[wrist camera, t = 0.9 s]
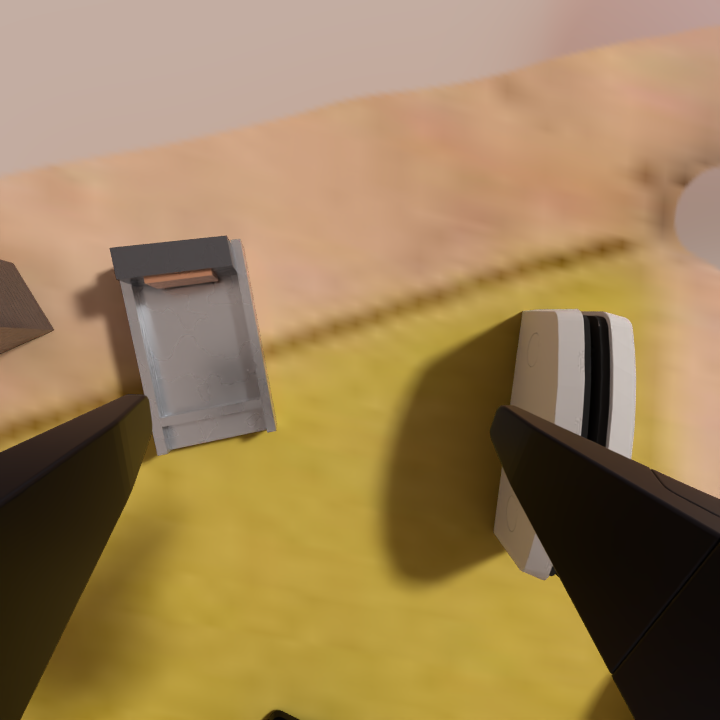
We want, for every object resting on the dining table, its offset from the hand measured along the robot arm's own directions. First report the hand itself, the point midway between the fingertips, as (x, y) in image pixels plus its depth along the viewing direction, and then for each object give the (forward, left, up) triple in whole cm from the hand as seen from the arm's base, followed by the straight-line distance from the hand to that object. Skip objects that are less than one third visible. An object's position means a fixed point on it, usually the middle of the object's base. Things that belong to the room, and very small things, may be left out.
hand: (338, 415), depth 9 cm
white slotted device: (+6, -15, -14) cm, 21 cm away
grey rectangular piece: (-2, +6, -14) cm, 15 cm away
